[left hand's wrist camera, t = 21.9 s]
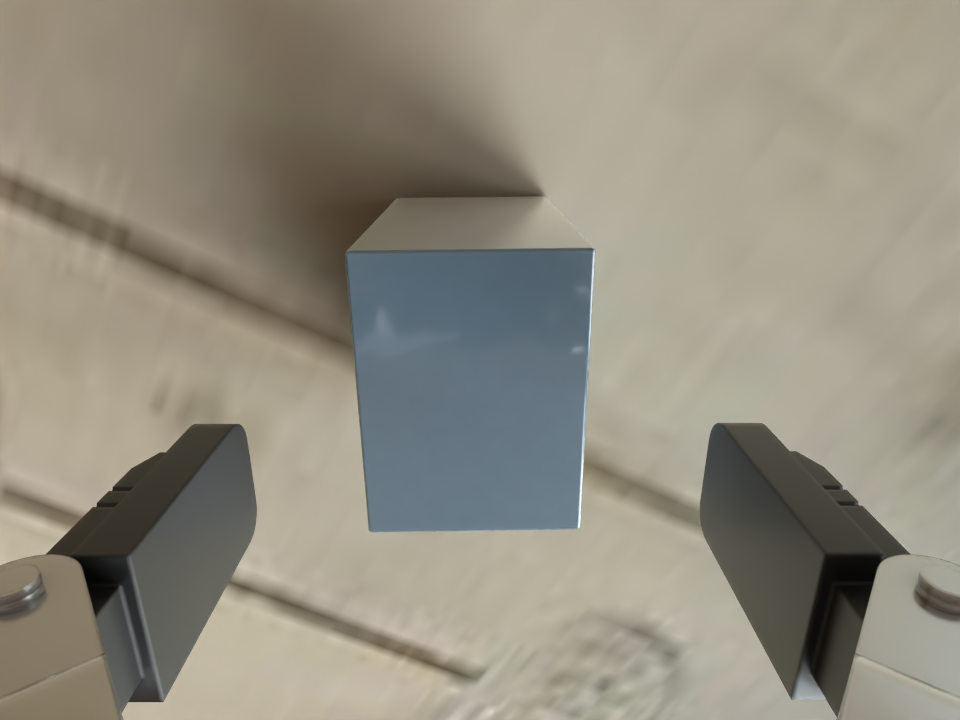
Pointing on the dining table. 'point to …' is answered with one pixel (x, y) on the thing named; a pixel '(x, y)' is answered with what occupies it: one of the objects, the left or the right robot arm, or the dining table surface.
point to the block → (471, 363)
